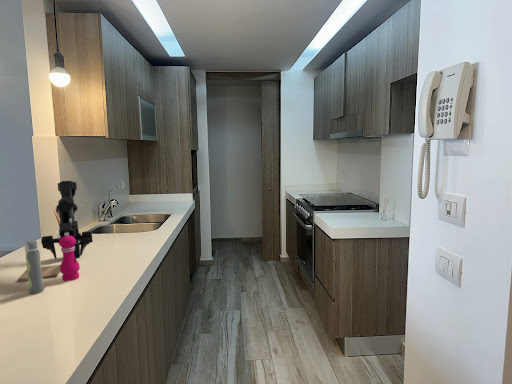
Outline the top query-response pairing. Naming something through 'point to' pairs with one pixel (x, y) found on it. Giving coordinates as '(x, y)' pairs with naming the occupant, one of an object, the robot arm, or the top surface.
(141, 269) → the top surface
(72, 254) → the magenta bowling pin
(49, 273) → the taupe cutting board
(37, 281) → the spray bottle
